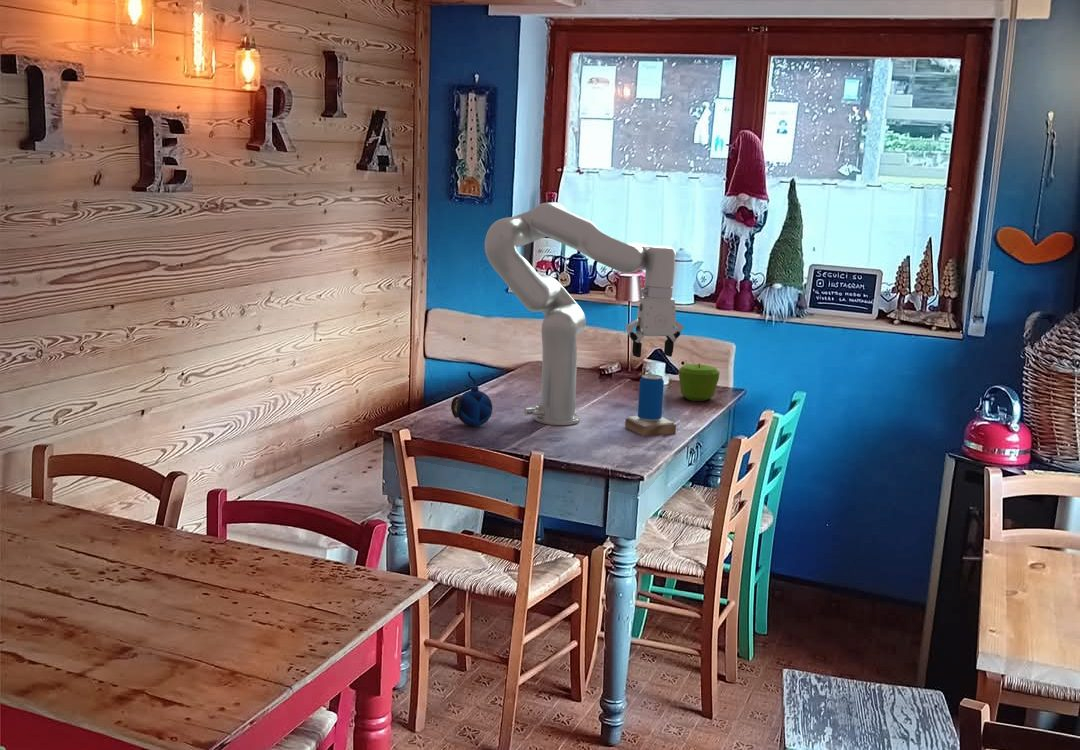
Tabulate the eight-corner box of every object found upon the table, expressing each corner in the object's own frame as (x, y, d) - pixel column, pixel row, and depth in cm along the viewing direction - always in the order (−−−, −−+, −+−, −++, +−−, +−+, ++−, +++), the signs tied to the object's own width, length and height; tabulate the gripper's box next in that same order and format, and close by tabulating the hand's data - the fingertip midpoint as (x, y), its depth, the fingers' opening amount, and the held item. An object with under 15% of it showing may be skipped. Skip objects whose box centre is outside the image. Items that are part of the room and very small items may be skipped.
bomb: (447, 422, 297) (448, 368, 294) (485, 420, 301) (486, 367, 298) (457, 431, 288) (458, 376, 285) (496, 429, 292) (498, 374, 289)
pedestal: (643, 436, 291) (643, 425, 290) (625, 427, 300) (625, 416, 299) (675, 433, 295) (676, 422, 294) (656, 424, 304) (657, 414, 303)
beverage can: (661, 417, 299) (664, 374, 297) (661, 423, 293) (664, 379, 291) (637, 416, 300) (640, 373, 298) (637, 421, 294) (640, 378, 291)
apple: (724, 402, 334) (727, 366, 332) (689, 404, 330) (692, 367, 328) (704, 393, 346) (706, 358, 343) (670, 395, 341) (672, 359, 339)
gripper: (636, 295, 283) (630, 359, 286) (693, 295, 290) (687, 358, 294) (622, 290, 289) (617, 353, 293) (678, 290, 297) (672, 352, 300)
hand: (652, 356), depth 293 cm, fingers open, 9 cm apart
